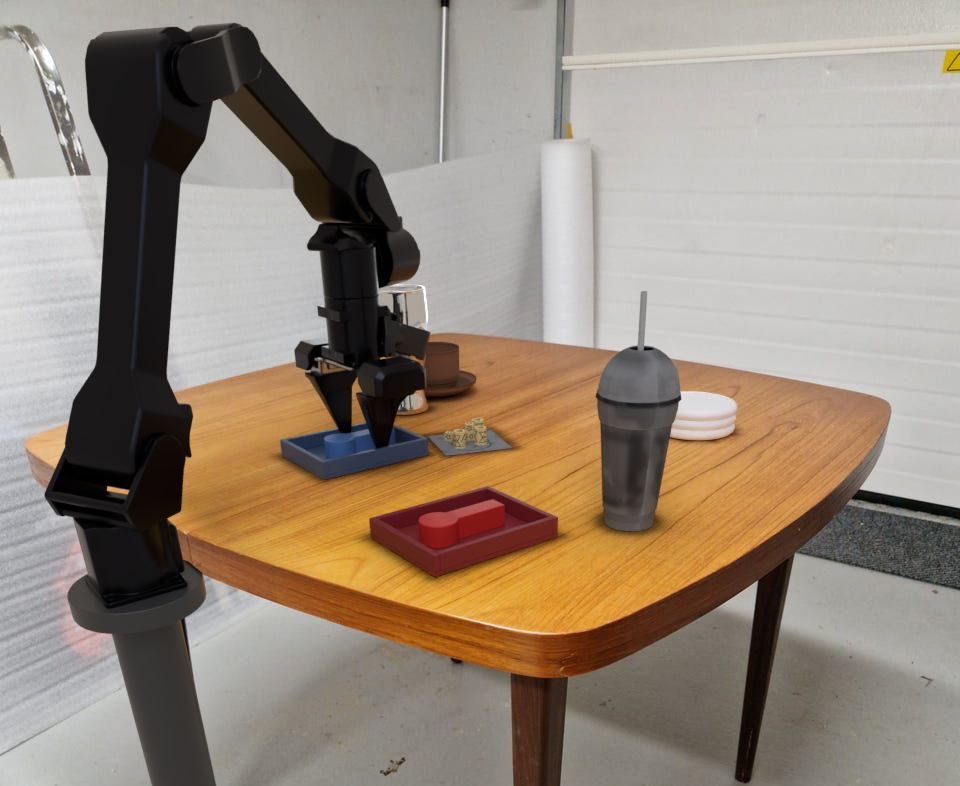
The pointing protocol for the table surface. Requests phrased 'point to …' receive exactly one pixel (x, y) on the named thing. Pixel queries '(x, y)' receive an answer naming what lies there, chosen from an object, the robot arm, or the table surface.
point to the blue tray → (313, 458)
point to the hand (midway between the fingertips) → (363, 442)
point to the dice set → (469, 439)
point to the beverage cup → (635, 430)
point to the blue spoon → (350, 443)
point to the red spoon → (460, 523)
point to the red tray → (517, 533)
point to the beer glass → (413, 313)
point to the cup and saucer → (445, 371)
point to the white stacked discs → (704, 416)
